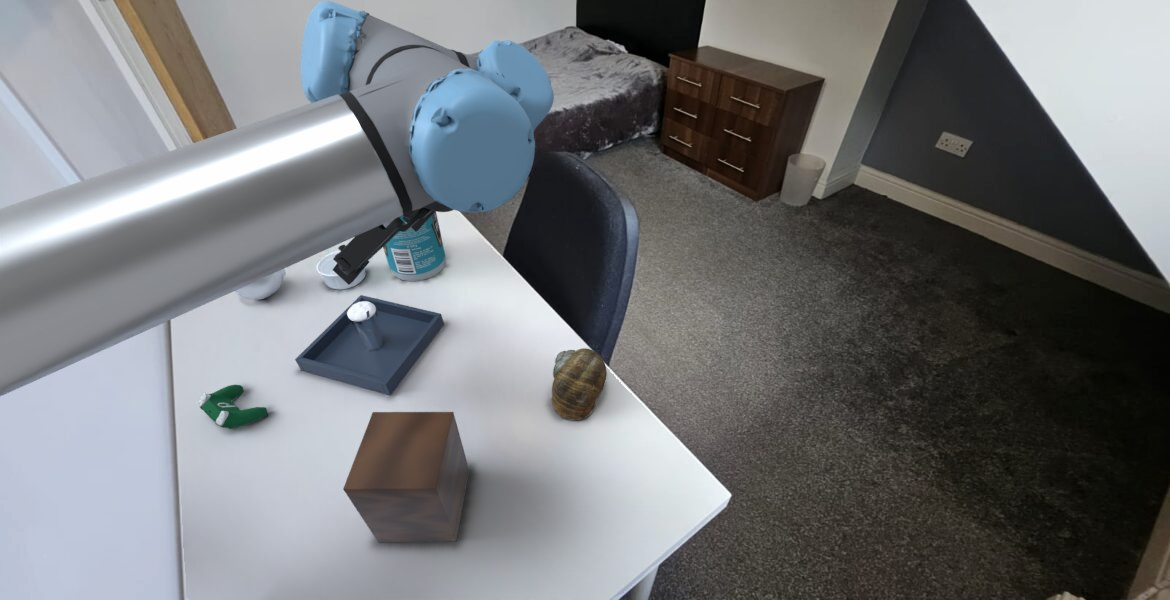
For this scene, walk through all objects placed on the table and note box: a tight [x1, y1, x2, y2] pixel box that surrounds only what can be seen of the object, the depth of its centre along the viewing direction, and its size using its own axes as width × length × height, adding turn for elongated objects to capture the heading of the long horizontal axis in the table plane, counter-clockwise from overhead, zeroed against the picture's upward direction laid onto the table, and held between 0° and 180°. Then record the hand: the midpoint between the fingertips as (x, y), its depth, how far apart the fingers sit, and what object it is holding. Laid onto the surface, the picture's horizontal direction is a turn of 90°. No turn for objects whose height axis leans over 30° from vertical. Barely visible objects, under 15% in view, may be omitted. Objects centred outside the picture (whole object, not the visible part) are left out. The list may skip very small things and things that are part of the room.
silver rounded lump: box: [234, 268, 287, 300], centre depth 93 cm, size 9×10×10 cm
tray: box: [294, 294, 445, 396], centre depth 84 cm, size 18×18×3 cm
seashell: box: [551, 347, 608, 421], centre depth 76 cm, size 11×9×8 cm
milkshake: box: [347, 301, 384, 350], centre depth 82 cm, size 4×5×10 cm
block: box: [342, 411, 470, 543], centre depth 59 cm, size 10×10×14 cm
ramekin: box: [315, 250, 366, 290], centre depth 99 cm, size 9×9×4 cm
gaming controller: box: [198, 384, 269, 430], centre depth 73 cm, size 9×4×6 cm
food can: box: [382, 211, 447, 282], centre depth 98 cm, size 12×12×18 cm
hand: (379, 248), depth 66 cm, fingers open, 13 cm apart
